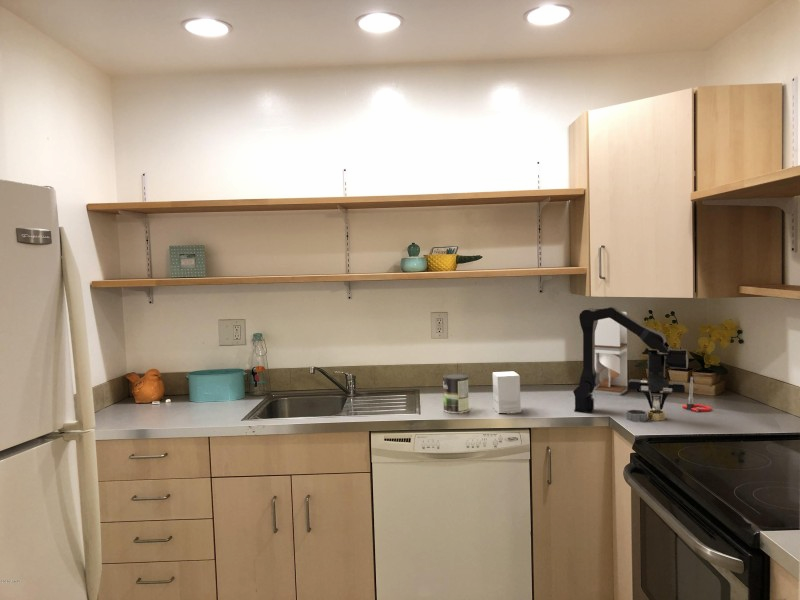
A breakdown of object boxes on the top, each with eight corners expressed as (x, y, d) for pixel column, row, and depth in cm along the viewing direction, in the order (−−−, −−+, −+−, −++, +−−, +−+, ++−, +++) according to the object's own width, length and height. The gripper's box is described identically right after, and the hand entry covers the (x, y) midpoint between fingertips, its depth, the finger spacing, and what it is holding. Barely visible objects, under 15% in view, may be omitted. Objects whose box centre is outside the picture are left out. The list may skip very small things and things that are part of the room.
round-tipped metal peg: (651, 415, 210) (651, 396, 209) (651, 413, 213) (651, 394, 212) (660, 416, 208) (660, 396, 208) (661, 413, 211) (661, 395, 211)
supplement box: (515, 407, 233) (514, 370, 232) (521, 413, 224) (520, 375, 223) (492, 408, 232) (492, 371, 231) (498, 414, 223) (497, 376, 222)
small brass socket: (647, 419, 209) (647, 412, 209) (648, 415, 214) (648, 409, 214) (664, 421, 207) (664, 414, 207) (665, 417, 212) (665, 410, 212)
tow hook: (698, 406, 227) (680, 407, 224) (700, 374, 226) (681, 375, 223) (716, 411, 219) (697, 413, 216) (718, 378, 218) (699, 379, 215)
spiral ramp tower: (593, 392, 254) (592, 313, 251) (601, 387, 262) (600, 311, 260) (620, 395, 247) (619, 314, 244) (627, 390, 255) (626, 311, 253)
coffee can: (445, 414, 226) (444, 378, 225) (441, 407, 236) (440, 373, 235) (471, 413, 226) (470, 377, 225) (466, 406, 237) (465, 372, 236)
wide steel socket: (625, 420, 209) (625, 413, 209) (627, 415, 215) (627, 409, 215) (646, 422, 206) (646, 415, 206) (647, 417, 212) (647, 410, 212)
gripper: (626, 369, 206) (627, 412, 207) (685, 372, 198) (684, 417, 199) (629, 364, 216) (629, 404, 217) (684, 366, 208) (684, 409, 209)
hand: (656, 409), depth 210 cm, fingers closed on round-tipped metal peg, 3 cm apart
